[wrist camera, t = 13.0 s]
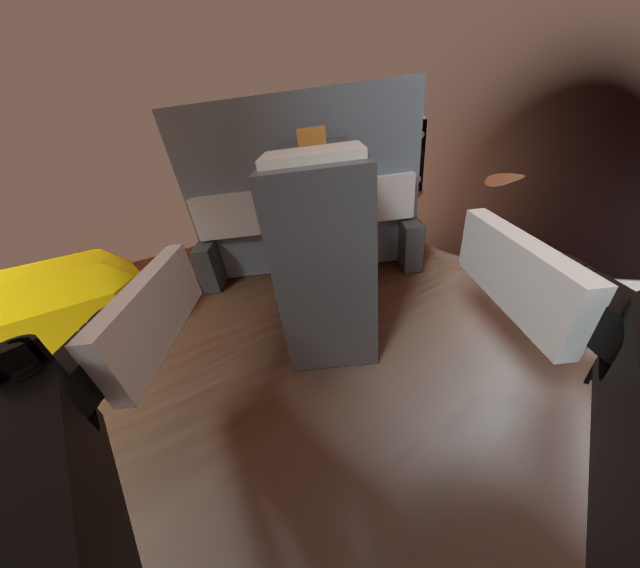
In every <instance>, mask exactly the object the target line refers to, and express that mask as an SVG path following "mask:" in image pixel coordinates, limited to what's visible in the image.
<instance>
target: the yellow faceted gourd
mask: <svg viewBox="0 0 640 568" xmlns="http://www.w3.org/2000/svg"><path fill="white" fill-rule="evenodd" d="M139 273H140V271H139V270H138V269H137V268H136V267H135V266H134V265H133V263H132V262H131V261H130V260H127V259H124V258H122V257H119V256H117V255H114V254H112V253H109V252H107V251H104V250H102V249H99V248H97V249H92V250H88V251H83V252H79V253H74V254H70V255H65V256H61V257H56V258H52V259H47V260H43V261H38V262H34V263H29V264H25V265H20V266H16V267H11V268H7V269H2V270H0V343H1V342H3V341H6V340H8V339H11V338H14V337H17V336H20V335H26V334H34V335H36V336H37V337H38V338H39V339H40V341H41V342H42V343H43V344H44V345H45V347H46V348H47V349H48V350H49V351H50V353H51V354H52V355H53V354H54V353H55V352H56V351H57V350H58V349H59V348H60V347H61V346H62V345H63V344H64V343H65V342H66V341H67V340H68V339H69V338H70V337H71V336H72V335H73V334H74V333H75V332H76V331H79V328H80V327H81V326H82V325H83V324H85V323H87V321H88V320H89V319H90V318H91V317H92V316H93V315H94V314H95V313H96V312H97V311H98V310H100V309H102V308H103V307H105V306H106V305H107V304H108V303H109V302H110V301H111V300H112V299H113V298H114V297H115V296H116V295H117V294H118V293H119V292H120V291H121V290H122V289H123V288H124V287H125V286H126V285H127V284H128V283H129V282H130V281H131V280H132V279H133V278H134V277H135V276H136V275H137V274H139Z"/></svg>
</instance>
